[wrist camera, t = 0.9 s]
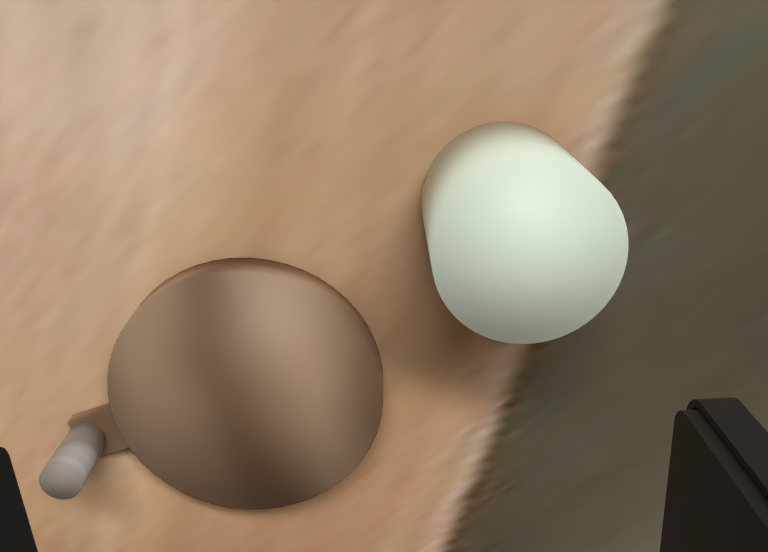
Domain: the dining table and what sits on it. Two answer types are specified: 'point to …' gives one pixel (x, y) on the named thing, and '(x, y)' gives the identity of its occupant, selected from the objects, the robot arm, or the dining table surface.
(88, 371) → the dining table surface
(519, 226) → the pale green rounded cylinder
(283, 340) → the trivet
